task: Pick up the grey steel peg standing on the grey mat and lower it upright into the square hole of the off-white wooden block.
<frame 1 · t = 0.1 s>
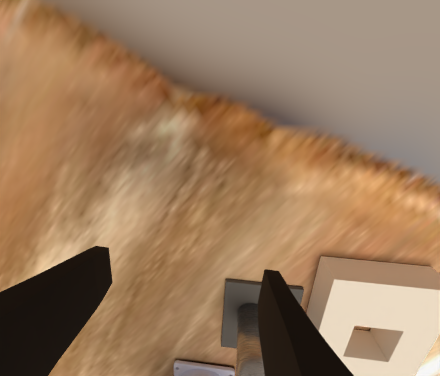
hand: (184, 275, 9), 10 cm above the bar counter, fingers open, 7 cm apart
peg: (250, 313, 23), resting on mat
mat: (258, 317, 23), on the bar counter
block: (355, 314, 22), on the bar counter
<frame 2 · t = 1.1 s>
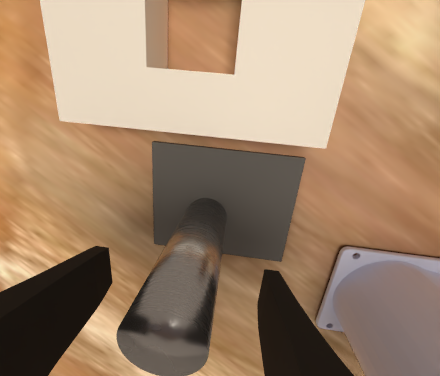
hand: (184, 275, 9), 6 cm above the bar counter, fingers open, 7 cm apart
peg: (206, 216, 15), resting on mat
mat: (221, 203, 15), on the bar counter
block: (203, 40, 12), on the bar counter
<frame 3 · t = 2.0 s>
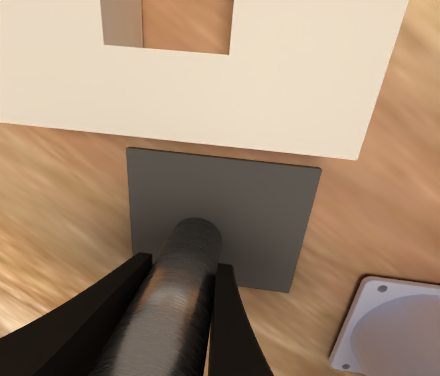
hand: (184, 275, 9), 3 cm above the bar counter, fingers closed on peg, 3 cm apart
peg: (196, 239, 12), resting on mat, touching gripper
mat: (215, 223, 12), on the bar counter
block: (189, 14, 9), on the bar counter
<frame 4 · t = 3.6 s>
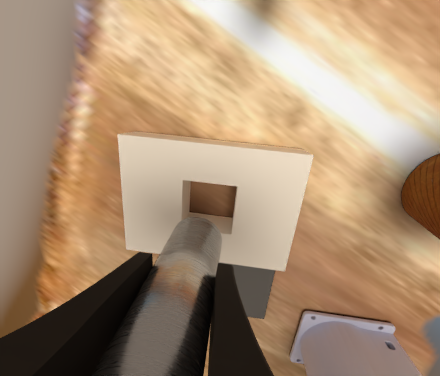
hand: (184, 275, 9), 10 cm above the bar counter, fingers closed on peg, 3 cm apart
peg: (197, 238, 12), point 7 cm above the bar counter, touching gripper
mat: (223, 282, 22), on the bar counter
block: (212, 194, 19), on the bar counter
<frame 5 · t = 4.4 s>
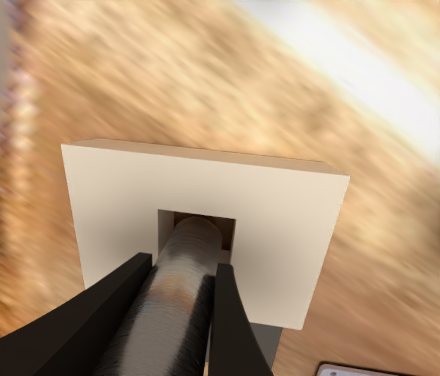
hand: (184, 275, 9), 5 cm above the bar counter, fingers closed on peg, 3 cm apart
peg: (197, 238, 12), point 2 cm above the bar counter, touching gripper
mat: (219, 327, 18), on the bar counter
block: (203, 221, 14), on the bar counter
when the fingers open (4 cm above the bar counter, at t = 4.9 s): peg stays where it is, resting in block.
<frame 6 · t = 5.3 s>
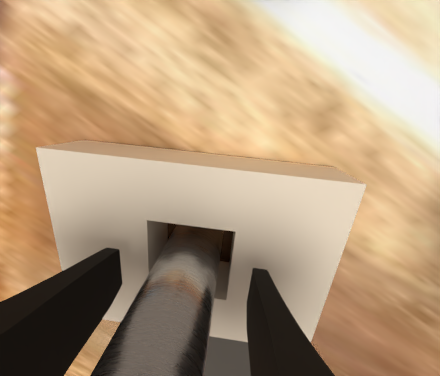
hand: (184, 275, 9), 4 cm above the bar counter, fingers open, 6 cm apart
peg: (200, 231, 13), resting in block
mat: (217, 342, 16), on the bar counter
block: (199, 230, 13), on the bar counter
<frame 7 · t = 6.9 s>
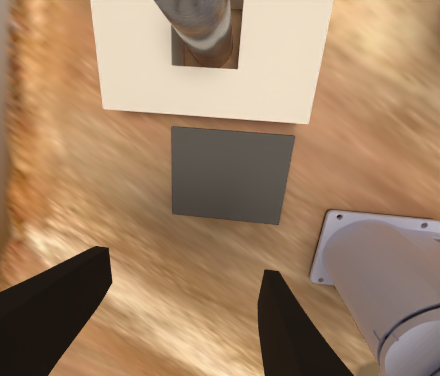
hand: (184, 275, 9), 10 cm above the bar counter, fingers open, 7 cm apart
peg: (212, 44, 15), resting in block
mat: (228, 177, 18), on the bar counter
block: (212, 43, 15), on the bar counter
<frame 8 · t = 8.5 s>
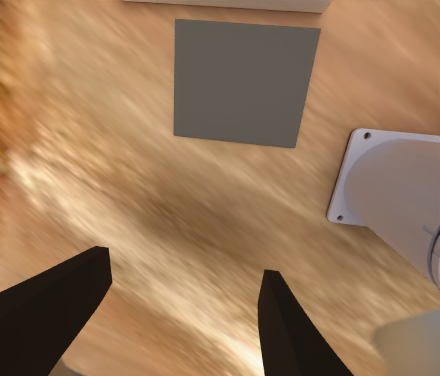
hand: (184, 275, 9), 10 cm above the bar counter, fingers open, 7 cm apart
mat: (239, 88, 16), on the bar counter
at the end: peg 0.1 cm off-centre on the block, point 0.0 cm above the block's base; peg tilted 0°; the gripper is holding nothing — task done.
